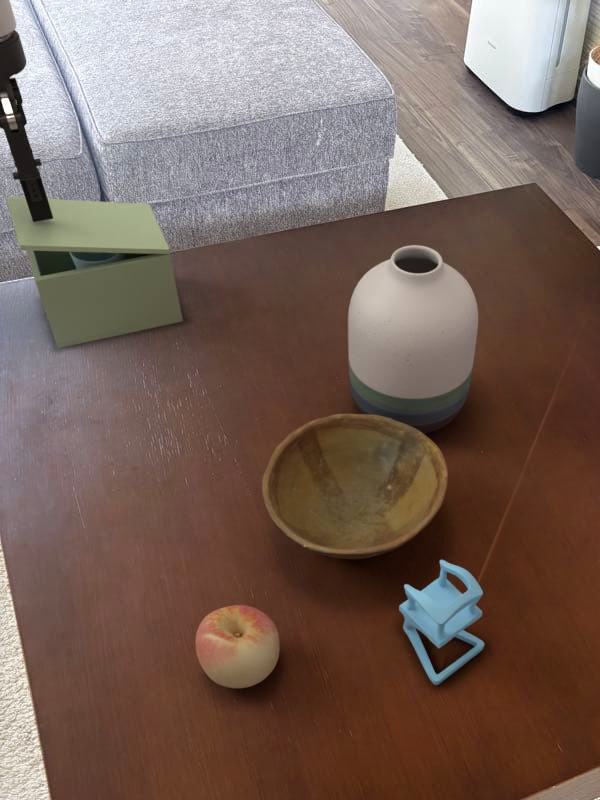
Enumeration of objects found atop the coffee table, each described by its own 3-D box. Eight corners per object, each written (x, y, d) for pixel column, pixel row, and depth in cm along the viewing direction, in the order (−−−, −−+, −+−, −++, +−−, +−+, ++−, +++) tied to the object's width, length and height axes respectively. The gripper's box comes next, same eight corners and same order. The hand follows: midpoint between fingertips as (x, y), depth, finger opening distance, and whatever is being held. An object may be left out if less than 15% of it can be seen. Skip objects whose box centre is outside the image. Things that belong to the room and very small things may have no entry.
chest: (58, 349, 128) (34, 280, 119) (44, 300, 135) (21, 231, 126) (183, 322, 133) (170, 254, 124) (163, 276, 140) (149, 209, 131)
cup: (128, 286, 137) (113, 227, 129) (144, 313, 133) (130, 253, 125) (81, 299, 134) (62, 239, 126) (96, 327, 130) (78, 267, 122)
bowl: (480, 537, 109) (490, 484, 101) (339, 635, 99) (337, 584, 91) (370, 441, 119) (371, 386, 111) (231, 522, 109) (221, 467, 101)
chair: (436, 602, 102) (443, 539, 93) (485, 648, 99) (498, 587, 89) (387, 638, 99) (390, 576, 90) (435, 687, 95) (444, 628, 86)
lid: (20, 250, 115) (20, 245, 114) (7, 201, 122) (7, 196, 122) (169, 254, 124) (169, 249, 123) (149, 208, 131) (149, 203, 131)
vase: (393, 352, 131) (398, 206, 112) (488, 398, 125) (511, 252, 107) (325, 414, 122) (318, 266, 103) (424, 466, 116) (437, 320, 97)
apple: (193, 648, 97) (182, 608, 91) (268, 623, 100) (262, 582, 93) (215, 712, 92) (204, 675, 86) (293, 684, 95) (289, 646, 89)
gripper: (-56, 15, 103) (8, 198, 122) (-45, 60, 96) (21, 248, 114) (9, 8, 105) (62, 189, 124) (25, 51, 98) (78, 237, 117)
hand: (42, 217), depth 119 cm, fingers closed
